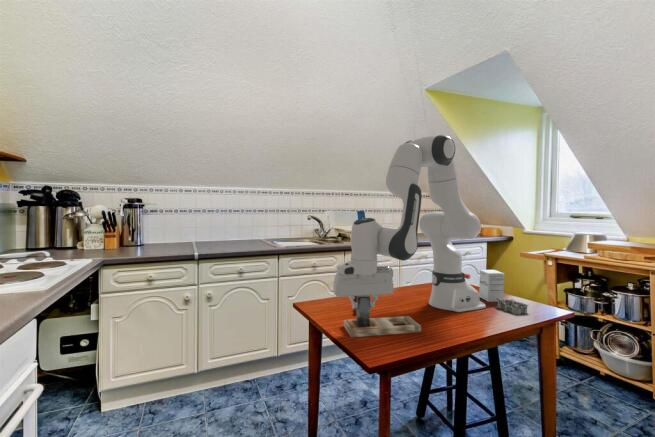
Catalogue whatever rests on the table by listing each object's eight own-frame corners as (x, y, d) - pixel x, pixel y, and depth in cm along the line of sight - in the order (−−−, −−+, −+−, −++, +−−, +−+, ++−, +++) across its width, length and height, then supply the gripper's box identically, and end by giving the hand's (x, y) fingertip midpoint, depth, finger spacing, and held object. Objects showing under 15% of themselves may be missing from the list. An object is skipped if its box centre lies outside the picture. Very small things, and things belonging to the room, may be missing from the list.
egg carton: (494, 307, 140) (494, 297, 140) (509, 305, 142) (509, 296, 142) (515, 315, 130) (515, 305, 130) (530, 313, 132) (531, 303, 132)
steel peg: (367, 323, 116) (367, 294, 116) (371, 327, 112) (371, 298, 111) (355, 324, 115) (355, 295, 115) (358, 328, 111) (359, 298, 111)
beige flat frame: (408, 321, 122) (408, 315, 122) (421, 331, 113) (421, 325, 112) (343, 325, 118) (343, 319, 118) (351, 337, 108) (351, 330, 108)
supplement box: (478, 297, 154) (479, 269, 153) (494, 296, 154) (495, 269, 154) (487, 302, 146) (488, 273, 146) (503, 301, 147) (504, 272, 146)
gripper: (389, 264, 118) (389, 303, 119) (332, 266, 114) (331, 306, 115) (396, 267, 112) (396, 309, 112) (336, 269, 108) (336, 312, 108)
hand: (363, 308), depth 113 cm, fingers closed on steel peg, 4 cm apart
